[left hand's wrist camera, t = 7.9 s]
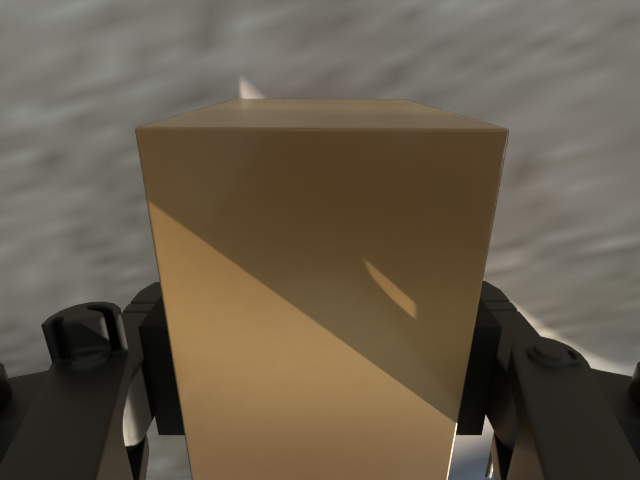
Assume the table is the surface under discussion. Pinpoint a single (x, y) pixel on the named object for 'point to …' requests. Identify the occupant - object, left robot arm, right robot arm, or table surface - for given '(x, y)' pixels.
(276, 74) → the table surface
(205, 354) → the beam
